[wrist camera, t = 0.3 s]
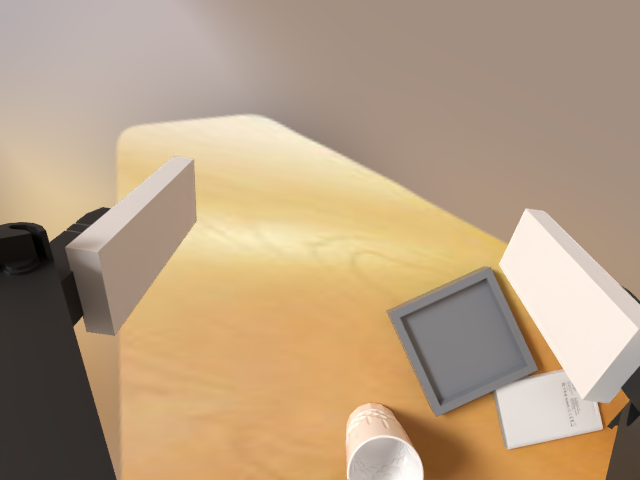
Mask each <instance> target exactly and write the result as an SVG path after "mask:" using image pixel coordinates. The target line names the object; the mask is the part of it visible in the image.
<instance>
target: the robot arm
mask: <svg viewBox="0 0 640 480" xmlns="http://www.w3.org/2000/svg"><path fill="white" fill-rule="evenodd" d="M195 222H196V196H195V171H194V159H192V158H185V157H179V156H173V157H172V158H171V159H170V160H169V161H167V162H166V163H165V164H164V165H163V166H161V167H160V168H159V169H158V170H157V171H156V172H154V173H153V174H152V175H151V176H150V177H148V178H147V179H146V180H145V181H144V182H142V183H141V184H140V185H139V186H138V187H136V188H135V189H134V190H133V191H132V192H130V193H129V194H128V195H127V196H126V197H124V198H123V199H122V200H121V201H120V202H118V203H117V204H116V205H115V206H114V207H112V208H104V207H103V208H100V209H97V210H95V211H92V212H90V213H87V214H86V215H84V216H83V217H82V218H80V219H79V220H78V221H77V222H76V224H73V225H71V226H70V227H69V228H68V229H67V231H64V232H62V233H61V234H60V235H59V236H57V237H56V238H55V239H53V240H52V241H51V242H50V243H49V240H48V236H47V233H46V230H45V229H44V228H43V227H42V226H40V225H38V224H34V223H26V222H18V223H8V224H3V225H0V480H116V476H115V472H114V469H113V465H112V462H111V458H110V455H109V451H108V448H107V444H106V441H105V437H104V434H103V430H102V427H101V423H100V420H99V416H98V413H97V409H96V406H95V402H94V398H93V395H92V391H91V388H90V385H89V381H88V378H87V374H86V370H85V367H84V363H83V360H82V357H81V353H80V349H79V346H78V342H77V339H76V335H75V332H74V328H73V327H74V325H75V324H76V323H77V322H78V321H79V320H80V318H81V317H82V316H83V319H84V323H85V327H86V331H87V332H92V333H99V334H107V335H114V336H115V335H116V334H117V332H118V331H119V329H120V328H121V326H122V325H123V324H124V322H125V321H126V319H127V318H128V317H129V315H130V314H131V312H132V311H133V310H134V308H135V307H136V305H137V304H138V303H139V301H140V300H141V298H142V297H143V296H144V294H145V293H146V291H147V290H148V288H149V287H150V286H151V284H152V283H153V281H154V280H155V279H156V277H157V276H158V274H159V273H160V272H161V270H162V269H163V267H164V266H165V265H166V263H167V262H168V260H169V259H170V258H171V256H172V255H173V253H174V252H175V251H176V249H177V248H178V246H179V245H180V243H181V242H182V241H183V239H184V238H185V236H186V235H187V234H188V232H189V231H190V229H191V228H192V227H193V225H194V224H195ZM499 266H500V267H501V269H502V271H503V272H504V274H505V276H506V277H507V279H508V280H509V282H510V284H511V285H512V287H513V288H514V290H515V292H516V293H517V295H518V296H519V298H520V300H521V301H522V303H523V305H524V306H525V308H526V309H527V311H528V313H529V314H530V316H531V317H532V319H533V321H534V322H535V324H536V326H537V327H538V329H539V330H540V332H541V334H542V335H543V337H544V338H545V340H546V342H547V343H548V345H549V346H550V348H551V350H552V351H553V353H554V355H555V356H556V358H557V359H558V361H559V363H560V364H561V366H562V367H563V369H564V371H565V372H566V374H567V376H568V377H569V379H570V380H571V382H572V384H573V385H574V387H575V388H576V390H577V392H578V393H579V395H580V397H581V398H582V400H587V401H595V402H602V403H610V402H611V401H612V399H613V398H614V397H615V396H616V395H617V394H618V392H619V391H620V390H621V389H622V390H623V391H624V393H625V394H626V395H627V397H628V398H629V399H630V401H629V402H628V403H627V405H626V406H625V407H624V408H623V409H622V410H621V411H620V412H619V413H618V415H617V416H616V417H615V418H614V419H613V420H612V421H611V422H610V424H609V425H608V426H607V427H609V428H611V429H612V428H613V427H614V426H615V425H618V429H617V434H616V438H615V442H614V446H613V451H612V455H611V459H610V463H609V468H608V472H607V476H606V480H640V301H639V300H638V299H637V298H636V297H635V296H634V295H633V294H632V293H631V292H630V291H629V290H627V289H626V288H624V287H623V286H621V285H619V284H618V283H617V282H616V281H615V280H614V279H613V278H612V277H611V276H610V275H609V274H608V273H607V272H606V271H605V270H604V269H603V268H602V267H601V266H600V265H599V264H598V263H597V262H596V261H595V260H594V259H593V258H592V257H591V256H590V255H589V254H588V253H587V252H586V251H585V250H584V249H583V248H582V247H580V245H578V244H577V242H575V241H574V240H573V239H572V238H571V237H570V236H569V235H568V234H567V233H566V232H565V231H564V230H563V229H562V228H561V227H560V226H559V225H558V224H557V223H556V222H555V221H554V220H553V219H552V218H551V217H550V216H549V215H548V214H547V213H546V212H545V211H539V210H533V209H525V211H524V213H523V215H522V217H521V220H520V222H519V224H518V226H517V228H516V230H515V232H514V234H513V236H512V238H511V241H510V243H509V245H508V247H507V249H506V251H505V253H504V255H503V258H502V260H501V262H500V264H499Z"/></svg>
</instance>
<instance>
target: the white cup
mask: <svg viewBox="0 0 640 480" xmlns="http://www.w3.org/2000/svg"><path fill="white" fill-rule="evenodd" d="M346 430H347V436H346V461H347V480H423V478H424V471H423V465H422V462H421V459H420V457H419V455H418V453H417V451H416V450H415V448H414V446H413V445H412V443H411V441H410V439H409V437H408V435H407V434H406V432H405V431H404V429H403V427H402V426H401V424H400V423H399V422H398V421H397V420H396V418H395V416H394V414H393V413H392V411H391V410H389V409H388V408H386V407H385V406H383V405H382V404H376V403H367V404H364V405H361V406H359V407H358V408H357V409H356V410H355V411H354V412H352V413H351V414H350V417H349V420H348V422H347V425H346Z"/></svg>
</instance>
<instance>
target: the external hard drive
mask: <svg viewBox="0 0 640 480" xmlns="http://www.w3.org/2000/svg"><path fill="white" fill-rule="evenodd" d="M493 394H494V399H495V404H496V408H497V413H498V418H499V422H500V427H501V432H502V436H503V441H504V446H505V447H506V448H507V449H513V448H518V447H522V446H527V445H532V444H537V443H541V442H546V441H551V440H556V439H560V438H565V437H570V436H574V435H579V434H584V433H588V432H593V431H598V430H602V429H603V425H602V420H601V416H600V412H599V407H598V403H597V402H595V401H587V400H582V398H581V397H580V395H579V393H578V392H577V390H576V388H575V387H574V385H573V384H572V382H571V380H570V379H569V377H568V376H567V374H566V372H565V371H564V369H561V370H556V371H551V372H546V373H542V374H537V375H532V376H527V377H522V378H520V379H518V380H516V381H513V382H511V383H509V384H507V385H505V386H502V387H500V388H498V389H496V390H494V391H493Z"/></svg>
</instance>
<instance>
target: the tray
mask: <svg viewBox="0 0 640 480" xmlns="http://www.w3.org/2000/svg"><path fill="white" fill-rule="evenodd" d="M387 313H388V315H389V318H390V320H391V322H392V324H393V326H394V329H395V331H396V333H397V335H398V337H399V340H400V342H401V344H402V346H403V348H404V351H405V353H406V355H407V357H408V359H409V361H410V364H411V366H412V368H413V370H414V372H415V375H416V377H417V379H418V381H419V383H420V386H421V388H422V390H423V392H424V394H425V397H426V399H427V401H428V403H429V405H430V408H431V410H432V411H433V413H434V414H435V416H436V417H437V416H439V415H442V414H444V413H446V412H448V411H450V410H452V409H455V408H457V407H459V406H461V405H463V404H466V403H468V402H470V401H472V400H474V399H476V398H479V397H481V396H483V395H485V394H487V393H489V392H492V391H494V390H496V389H498V388H500V387H502V386H505V385H507V384H509V383H511V382H513V381H516V380H518V379H520V378H522V377H524V376H526V375H529V374H531V373H533V372H535V371H537V370H538V368H537V365H536V363H535V361H534V359H533V357H532V355H531V353H530V350H529V348H528V346H527V344H526V342H525V340H524V338H523V335H522V333H521V331H520V329H519V327H518V325H517V323H516V320H515V318H514V316H513V314H512V312H511V310H510V308H509V305H508V303H507V301H506V299H505V297H504V295H503V293H502V290H501V288H500V286H499V284H498V282H497V280H496V278H495V275H494V273H493V271H492V269H491V267H482V268H480V269H477V270H475V271H473V272H471V273H469V274H466V275H464V276H462V277H460V278H458V279H455V280H453V281H451V282H449V283H447V284H444V285H442V286H440V287H438V288H436V289H434V290H431V291H429V292H427V293H425V294H423V295H420V296H418V297H416V298H414V299H412V300H409V301H407V302H405V303H403V304H401V305H398V306H396V307H394V308H392V309H390V310H387Z"/></svg>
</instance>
